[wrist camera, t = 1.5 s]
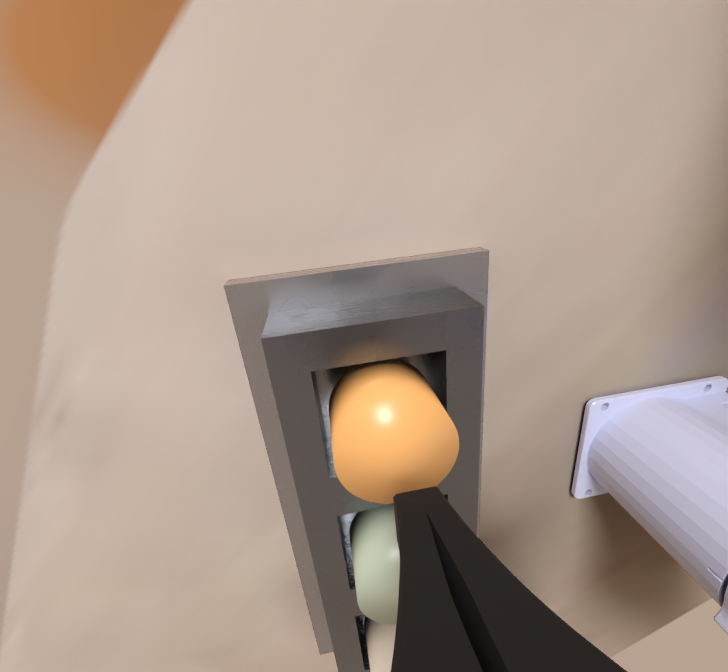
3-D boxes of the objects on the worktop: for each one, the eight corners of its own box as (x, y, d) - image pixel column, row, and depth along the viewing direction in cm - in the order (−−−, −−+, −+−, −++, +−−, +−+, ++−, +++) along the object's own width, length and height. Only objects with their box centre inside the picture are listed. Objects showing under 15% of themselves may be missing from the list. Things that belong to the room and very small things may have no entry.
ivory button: (436, 583, 22) (458, 648, 19) (438, 630, 24) (458, 696, 21) (360, 601, 22) (369, 670, 19) (367, 647, 24) (377, 716, 20)
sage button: (433, 486, 19) (458, 544, 16) (435, 548, 21) (458, 611, 18) (344, 503, 19) (351, 567, 15) (354, 565, 20) (362, 633, 17)
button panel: (479, 247, 18) (525, 262, 14) (470, 604, 29) (494, 665, 25) (228, 280, 16) (205, 306, 13) (319, 639, 27) (321, 708, 24)
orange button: (429, 350, 16) (459, 390, 13) (432, 437, 18) (459, 490, 15) (321, 367, 15) (325, 412, 12) (335, 455, 17) (342, 514, 14)
